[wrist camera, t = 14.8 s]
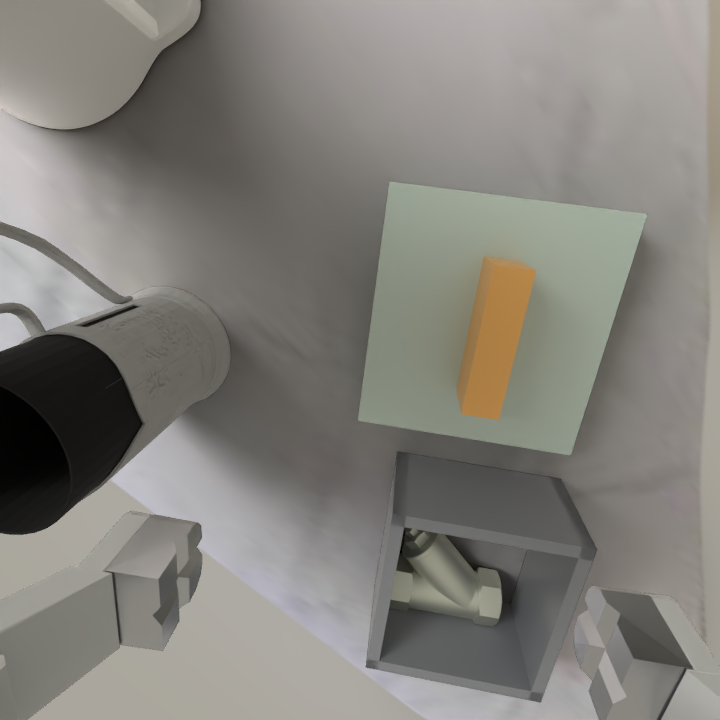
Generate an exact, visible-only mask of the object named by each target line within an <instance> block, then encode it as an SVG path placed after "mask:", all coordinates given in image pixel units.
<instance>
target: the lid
mask: <svg viewBox="0 0 720 720" xmlns="http://www.w3.org/2000/svg"><path fill="white" fill-rule="evenodd" d="M646 217H647V214H645V213H637V212H629V211H621V210H613V209H605V208H597V207H589V206H581V205H574V204H566V203H558V202H550V201H542V200H534V199H526V198H518V197H510V196H502V195H494V194H486V193H478V192H470V191H462V190H454V189H446V188H439V187H431V186H423V185H415V184H407V183H399V182H391V181H389V188H388V195H387V203H386V211H385V218H384V226H383V233H382V241H381V248H380V256H379V263H378V271H377V278H376V286H375V293H374V301H373V309H372V316H371V324H370V331H369V339H368V346H367V354H366V361H365V369H364V376H363V384H362V392H361V399H360V407H359V414H358V421H362V422H368V423H374V424H380V425H386V426H393V427H399V428H405V429H411V430H417V431H423V432H429V433H435V434H441V435H448V436H454V437H460V438H466V439H472V440H478V441H484V442H490V443H497V444H503V445H509V446H515V447H521V448H527V449H533V450H539V451H546V452H552V453H558V454H564V455H570V456H571V453H572V450H573V447H574V444H575V441H576V438H577V434H578V431H579V428H580V425H581V422H582V419H583V416H584V412H585V409H586V406H587V403H588V400H589V397H590V394H591V390H592V387H593V384H594V381H595V378H596V375H597V371H598V368H599V365H600V362H601V359H602V356H603V353H604V349H605V346H606V343H607V340H608V337H609V334H610V331H611V327H612V324H613V321H614V318H615V315H616V312H617V309H618V305H619V302H620V299H621V296H622V293H623V290H624V287H625V283H626V280H627V277H628V274H629V271H630V268H631V265H632V261H633V258H634V255H635V252H636V249H637V246H638V243H639V239H640V236H641V233H642V230H643V227H644V224H645V221H646Z"/></svg>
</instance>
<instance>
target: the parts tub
mask: <svg viewBox="0 0 720 720" xmlns="http://www.w3.org/2000/svg"><path fill="white" fill-rule="evenodd" d="M404 527H406V528H412V529H417V530H423V531H428V532H434V533H440V534H445V535H451V536H456V537H462V538H468V539H473V540H479V541H484V542H490V543H496V544H501V545H507V546H512V547H518V548H524V549H527V552H526V555H525V558H524V562H523V565H522V568H521V571H520V575H519V578H518V581H517V585H516V588H515V591H514V594H513V598H512V601H511V603H507V602H502V608H501V614H500V619H499V621H498V623H497V624H496V625H494V626H492V627H490V626H485V625H479V624H474V622H473V620H472V619H468V618H463V617H457V616H451V615H446V614H440V613H435V612H429V611H423V610H418V609H412V608H409V609H408V610H407V611H401V610H395V609H390V608H389V606H390V600H391V595H392V590H393V584H394V579H395V574H396V568H397V563H398V558H399V552H400V547H401V542H402V536H403V531H404ZM596 551H597V548H596V547H595V545H594V543H593V541H592V539H591V537H590V535H589V533H588V531H587V529H586V527H585V525H584V523H583V521H582V519H581V517H580V515H579V513H578V511H577V509H576V508H575V506H574V504H573V502H572V500H571V498H570V496H569V494H568V492H567V490H566V488H565V486H564V484H563V482H562V480H561V479H558V478H552V477H546V476H540V475H534V474H528V473H522V472H516V471H510V470H504V469H498V468H492V467H486V466H480V465H474V464H468V463H462V462H456V461H450V460H444V459H438V458H432V457H426V456H420V455H414V454H408V453H402V452H397V458H396V464H395V469H394V475H393V481H392V487H391V493H390V499H389V505H388V511H387V517H386V522H385V528H384V534H383V540H382V546H381V552H380V558H379V564H378V570H377V575H376V581H375V588H374V597H373V606H372V615H371V624H370V633H369V642H368V651H367V660H366V667H367V668H372V669H377V670H382V671H387V672H391V673H396V674H401V675H406V676H411V677H416V678H421V679H426V680H431V681H436V682H441V683H446V684H451V685H456V686H461V687H466V688H471V689H476V690H481V691H486V692H491V693H496V694H501V695H506V696H511V697H516V698H521V699H526V700H531V701H536V702H541V700H542V697H543V695H544V692H545V689H546V686H547V684H548V681H549V678H550V676H551V673H552V670H553V668H554V665H555V662H556V659H557V657H558V654H559V651H560V649H561V646H562V643H563V641H564V638H565V635H566V632H567V630H568V627H569V624H570V622H571V619H572V616H573V613H574V611H575V608H576V605H577V603H578V600H579V597H580V595H581V592H582V589H583V586H584V584H585V581H586V578H587V576H588V573H589V570H590V568H591V565H592V562H593V559H594V557H595V554H596Z"/></svg>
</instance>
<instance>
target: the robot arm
mask: <svg viewBox="0 0 720 720" xmlns="http://www.w3.org/2000/svg"><path fill="white" fill-rule="evenodd" d="M200 9H201V1H200V0H0V108H1V109H2V110H4V111H6V112H7V113H9V114H11V115H12V116H14V117H16V118H18V119H20V120H23V121H25V122H28V123H31V124H34V125H37V126H41V127H45V128H51V129H75V128H81V127H85V126H89V125H92V124H95V123H97V122H99V121H101V120H103V119H105V118H107V117H109V116H110V115H112V114H113V113H115V112H116V111H117V110H119V109H120V108H121V107H122V106H123V105H124V104H125V103H126V102H127V101H128V100H129V99H130V98H131V97H132V96H133V94H134V93H135V92H136V90H137V89H138V88H139V86H140V84H141V83H142V81H143V79H144V78H145V76H146V74H147V72H148V71H149V69H150V67H151V65H152V63H153V62H154V60H155V59H156V57H157V56H158V55H159V53H160V52H161V51H162V50H163V49H165V48H166V47H168V46H169V45H171V44H172V43H173V42H175V41H176V40H178V39H179V38H181V37H182V36H183V35H184V34H186V33H187V32H188V31H189V30H190V29H191V28H192V27H193V26H194V24H195V23H196V22H197V20H198V18H199V15H200ZM201 538H202V531H201V525H200V524H199V523H197V522H192V521H187V520H181V519H176V518H171V517H165V516H160V515H151V514H146V513H140V512H135V511H130V512H128V513H126V514H124V515H123V516H122V518H121V519H120V520H119V521H118V522H117V523H116V524H115V525H114V527H113V528H112V529H111V530H110V531H109V532H108V533H107V534H106V536H105V537H104V538H103V539H102V540H101V541H100V542H99V544H98V545H97V546H96V547H95V548H94V549H93V550H92V551H91V553H90V554H89V555H88V556H87V557H86V558H85V559H84V560H83V562H82V563H81V564H80V565H79V566H78V567H73V566H70V567H68V568H65V569H63V570H61V571H59V572H57V573H55V574H53V575H51V576H49V577H47V578H45V579H42V580H40V581H38V582H36V583H35V584H32V585H30V586H28V587H26V588H24V589H22V590H20V591H18V592H16V593H13V594H11V595H9V596H7V597H5V598H3V599H1V600H0V720H28V719H29V718H30V717H32V716H33V715H34V714H35V713H37V712H38V711H39V710H41V709H42V708H43V707H44V706H46V705H47V704H48V703H49V702H51V701H52V700H53V699H55V698H56V697H57V696H59V695H60V694H61V693H62V692H64V691H65V690H66V689H68V688H69V687H70V686H71V685H73V684H74V683H75V682H76V681H78V680H79V679H80V678H82V677H83V676H84V675H85V674H87V673H88V672H89V671H91V670H92V669H93V668H94V667H96V666H97V665H98V664H100V663H101V662H102V661H103V660H105V659H106V658H107V657H109V655H111V654H112V653H114V652H115V651H116V650H118V649H119V648H120V645H124V646H131V647H138V648H145V649H152V650H159V651H163V650H164V648H165V647H166V645H167V643H168V641H169V639H170V637H171V635H172V634H173V632H174V630H175V628H176V626H177V624H178V622H179V608H181V607H182V606H184V605H185V604H187V603H188V602H190V600H191V598H192V596H193V594H194V592H195V590H196V587H197V584H198V581H199V578H200V575H201V569H202V554H201V552H200V551H199V550H198V548H197V545H198V544H199V542H200V540H201ZM584 600H585V602H586V605H587V607H588V610H586V611H585V612H583V613H582V614H580V615H579V616H578V618H577V621H576V624H575V627H574V647H575V653H576V657H577V660H578V663H579V665H580V668H581V669H582V670H583V671H584V672H585V673H586V674H587V675H588V676H589V678H590V679H591V680H592V684H591V686H590V689H589V694H590V696H591V699H592V702H593V704H594V707H595V710H596V713H597V715H598V718H599V720H720V665H719V664H718V662H717V661H716V660H715V658H714V656H713V655H712V653H711V652H710V650H709V649H708V647H707V646H706V644H705V643H704V641H703V640H702V638H701V636H700V635H699V633H698V632H697V630H696V629H695V627H694V626H693V624H692V623H691V621H690V620H689V618H688V617H687V615H686V614H685V612H684V611H683V609H682V608H681V606H680V605H679V603H678V602H677V601H676V600H675V599H673V598H672V597H670V596H663V595H656V594H649V593H641V592H634V591H627V590H621V589H614V588H607V587H601V586H594V585H593V586H592V587H591V588H589V589H588V591H587V594H586V596H585V599H584Z"/></svg>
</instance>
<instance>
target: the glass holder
mask: <svg viewBox="0 0 720 720" xmlns="http://www.w3.org/2000/svg"><path fill="white" fill-rule="evenodd" d="M0 235H3V236H6V237H8V238H11V239H14V240H17V241H19V242H21V243H23V244H26V245H28V246H30V247H32V248H35V249H36V250H38V251H40V252H41V253H43V254H44V255H46V256H48V257H49V258H51V259H52V260H54V261H55V262H57V263H58V264H60V265H61V266H63V267H64V268H65V269H67V270H68V271H70V272H71V273H72V274H74V275H75V276H76V277H77V278H79V279H80V280H81V281H82V282H84V283H85V284H86V285H88V286H89V287H90V288H92V289H93V290H94V291H96V292H97V293H98V294H100V295H101V296H103V297H104V298H106V299H107V300H109V301H110V302H112V303H115V304H121V305H118V306H115V307H112V308H110V309H107V310H104V311H101V312H98V313H96V314H93V315H90V316H87V317H84V318H81V319H79V320H76V321H73V322H70V323H67V324H65V325H62V326H59V327H56V328H53V329H50V330H48V331H45V329H44V327H43V325H42V324H41V322H40V320H39V319H38V318H37V316H36V315H35V314H34V313H33V312H32V311H31V310H30V309H29V308H28V307H26V306H24V305H22V304H18V303H3V304H0V313H12V314H14V315H16V316H17V317H18V318H19V319H20V320H21V321H22V322H23V323H24V325H25V326H26V328H27V329H28V331H29V333H30V335H31V337H30V338H28V339H26V340H24V341H23V342H21V343H20V344H19V345H17V346H14V347H12V348H9V349H6V350H3V351H1V352H0V533H3V534H14V535H15V534H18V535H19V534H20V535H23V534H29V533H35V532H37V531H41V530H43V529H46V528H48V527H49V526H51V525H52V524H54V523H55V522H57V521H58V520H59V519H60V518H61V517H62V516H63V515H65V513H67V512H68V511H69V510H70V509H71V508H72V507H73V506H75V505H76V504H77V503H78V502H80V501H81V500H83V499H84V498H86V497H87V496H89V495H90V494H92V493H93V492H95V491H96V490H98V489H99V488H100V487H102V486H103V485H104V484H105V483H106V482H107V481H108V480H109V479H110V478H112V477H113V476H114V475H115V474H116V473H117V472H118V471H119V470H120V469H121V468H123V467H124V466H125V465H126V464H127V463H128V462H129V461H130V460H131V459H132V458H134V457H135V456H136V455H137V454H138V453H139V452H140V451H141V450H142V449H143V448H145V447H146V446H147V445H148V444H149V443H150V442H151V441H152V440H153V439H154V438H156V437H157V436H158V435H159V434H160V433H161V432H162V431H163V430H164V429H165V428H167V427H168V426H169V425H170V424H171V423H172V422H173V421H174V420H175V419H176V418H178V417H179V416H180V415H181V414H182V413H183V412H184V411H185V410H186V409H187V408H189V407H190V406H191V405H192V404H193V403H196V402H199V401H201V400H204V399H206V398H207V397H209V396H210V395H212V394H213V393H215V392H216V391H217V389H218V388H219V387H220V386H221V385H222V383H223V382H224V380H225V379H226V376H227V373H228V371H229V367H230V361H231V349H230V344H229V339H228V336H227V333H226V331H225V328H224V326H223V325H222V323H221V321H220V319H219V318H218V317H217V315H216V314H215V313H214V311H213V310H212V309H211V308H210V307H209V306H208V305H207V304H206V303H204V302H203V301H202V300H200V299H199V298H197V297H196V296H195V295H193V294H190V293H188V292H186V291H184V290H181V289H178V288H174V287H166V286H157V287H150V288H146V289H142V290H140V291H138V292H136V293H134V294H133V295H132V296H127V297H122V296H120V295H119V294H117V293H116V292H115V291H113V290H112V289H110V288H109V287H108V286H106V285H105V284H104V283H102V282H101V281H100V280H99V279H97V278H96V277H95V276H94V275H92V274H91V273H90V272H89V271H87V270H86V269H85V268H84V267H82V266H81V265H80V264H78V263H77V262H76V261H74V260H73V259H71V258H70V257H69V256H67V255H66V254H65V253H63V252H62V251H61V250H59V249H58V248H56V247H55V246H54V245H52V244H51V243H49V242H48V241H46V240H45V239H43V238H40V237H38V236H36V235H34V234H31V233H29V232H27V231H25V230H22V229H19V228H17V227H14V226H11V225H8V224H5V223H3V222H0Z"/></svg>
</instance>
